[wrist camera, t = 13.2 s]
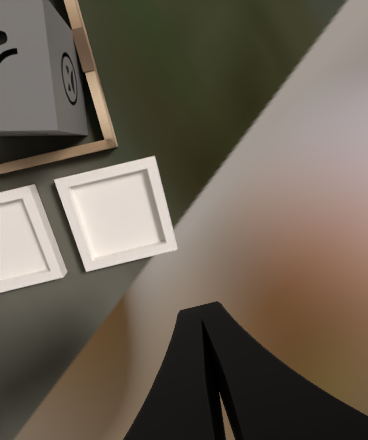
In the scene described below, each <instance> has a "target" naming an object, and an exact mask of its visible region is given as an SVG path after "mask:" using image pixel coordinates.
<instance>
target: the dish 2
mask: <svg viewBox="0 0 368 440" xmlns="http://www.w3.org/2000/svg"><path fill="white" fill-rule="evenodd" d="M54 181H55V184H56V187H57V190H58V193H59V196H60V198H61V201H62V204H63V207H64V210H65V213H66V216H67V218H68V221H69V224H70V227H71V230H72V233H73V235H74V238H75V241H76V244H77V247H78V250H79V252H80V255H81V258H82V261H83V264H84V267H85V270H86V272H87V271H92V270H96V269H100V268H104V267H108V266H112V265H116V264H121V263H125V262H129V261H133V260H137V259H141V258H145V257H150V256H154V255H158V254H161V253H166V252H170V251H174V250H178V247H177V243H176V239H175V235H174V230H173V226H172V222H171V218H170V214H169V210H168V206H167V202H166V198H165V194H164V190H163V186H162V182H161V178H160V174H159V170H158V166H157V162H156V158H155V156H151V157H147V158H143V159H139V160H134V161H130V162H126V163H122V164H117V165H113V166H109V167H105V168H100V169H96V170H92V171H88V172H83V173H79V174H75V175H71V176H67V177H62V178H58V179H55V180H54Z"/></svg>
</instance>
